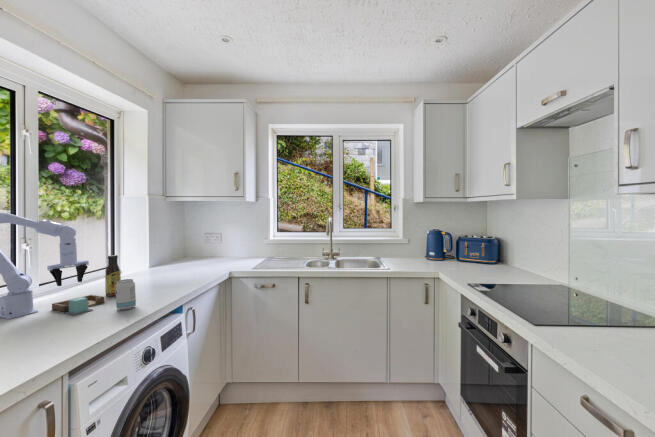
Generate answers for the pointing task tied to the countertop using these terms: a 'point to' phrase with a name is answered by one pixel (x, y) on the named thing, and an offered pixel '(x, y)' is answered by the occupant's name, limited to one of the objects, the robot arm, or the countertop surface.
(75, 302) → the teal block
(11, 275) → the robot arm
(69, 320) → the countertop surface
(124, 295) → the beverage can
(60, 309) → the parts box
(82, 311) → the rubber mat
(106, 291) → the sauce bottle
